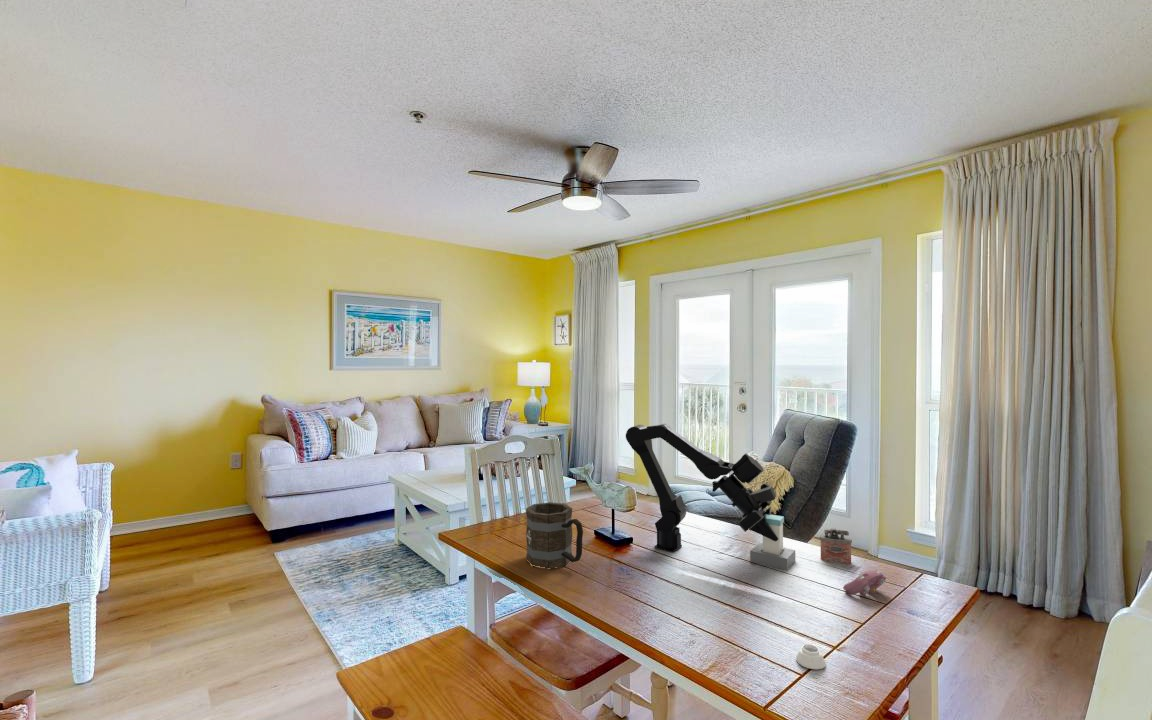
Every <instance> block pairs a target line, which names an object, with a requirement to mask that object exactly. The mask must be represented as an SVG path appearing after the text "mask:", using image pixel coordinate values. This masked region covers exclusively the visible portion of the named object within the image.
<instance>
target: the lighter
mask: <svg viewBox="0 0 1152 720" xmlns="http://www.w3.org/2000/svg"><path fill="white" fill-rule="evenodd" d="M845 536H847V537H845ZM849 536H850V531H849V530H848V529H836V527H832V528H824V534H821V535H819V539H820V560H821V561H824V562H825V561H826V562H828V563H829V562H831V563H838V564H847V565H848V564H852V543H853V542H852V541H853V540H852V538H850V537H849Z"/></svg>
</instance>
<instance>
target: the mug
mask: <svg viewBox="0 0 1152 720" xmlns="http://www.w3.org/2000/svg"><path fill="white" fill-rule="evenodd" d="M525 511H526V513H525V514H526V532H525V533H526V534H525V537H526V556H525V557H526V558H525V560H526V559H527V560H528V561H529V562H530V563H531V564H532V565H535V566H540V567H545V568H555V567H560V568H563V567H562V566H566V565H567V564H568V563H569V562H570V561H571V562H572V563H575V562H579V561H580V560H581V558H582V555H583V538H584V536H583V534H584V530H583V529H584V528H583V525H582V522H581V521H580V520H579V519H578V518H574V519H573V518H572V516H573V507H572V506H571V505H568V504H567V503H561V502H553V501H551V502H550V501H549V502H542V503H540V502H539V503H534V504H532V505H530V506H528V507H526V508H525ZM573 524H574V525H575V526H576V533H577V534H576V539H575V540H576V541H575V542H576V543H575V544H576V546H575V549H576V551H575V556H574V555H573V552H572V550H573V549H572V545H573V543H572V541H573V527H572V526H573ZM571 562H570V563H571ZM570 563H569V564H570ZM569 564H568V565H569ZM568 565H567V566H568ZM567 566H566V567H567ZM555 569H556V568H555Z"/></svg>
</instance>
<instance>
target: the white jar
mask: <svg viewBox="0 0 1152 720" xmlns="http://www.w3.org/2000/svg"><path fill="white" fill-rule="evenodd" d="M795 659H796V662H797V663H798V664H799V665H800V666H802V667H804V668H806V669H810V670H822V669H823V668H825V667H826V665H827V664H826V661H825V658H824V657H823V654H822V651H820V648H819V647H818V646H816V645H814V644H812V643H811V644H810V643H806V644H803V645H801V648H799V651H798V652H797V654H796V657H795Z"/></svg>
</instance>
